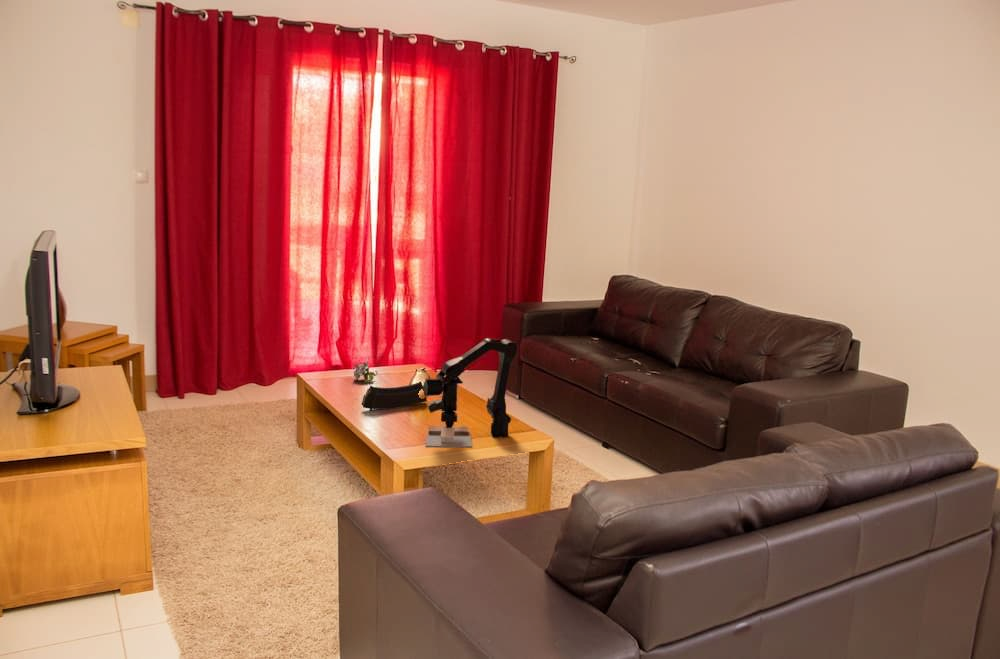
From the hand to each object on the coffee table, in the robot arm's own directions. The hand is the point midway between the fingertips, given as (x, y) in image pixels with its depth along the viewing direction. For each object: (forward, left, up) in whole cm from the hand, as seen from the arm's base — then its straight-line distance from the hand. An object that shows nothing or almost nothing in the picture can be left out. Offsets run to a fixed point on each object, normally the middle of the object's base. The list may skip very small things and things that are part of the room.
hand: (448, 431), depth 325 cm
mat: (0, +2, -3) cm, 4 cm away
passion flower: (+41, -85, -4) cm, 94 cm away
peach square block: (0, +2, -2) cm, 3 cm away
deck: (0, -8, -3) cm, 8 cm away
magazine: (+24, -42, -4) cm, 48 cm away
